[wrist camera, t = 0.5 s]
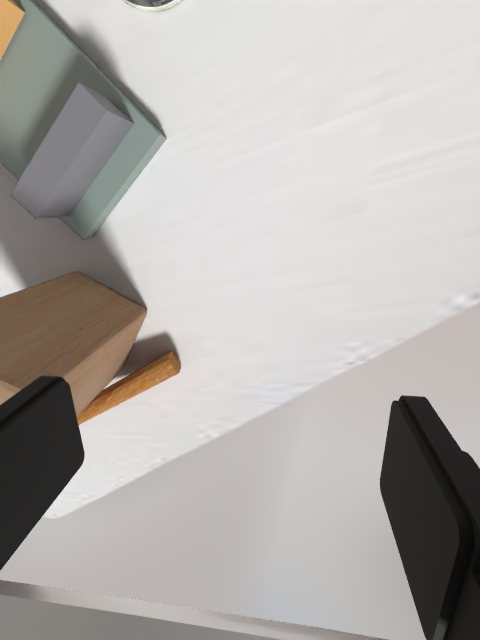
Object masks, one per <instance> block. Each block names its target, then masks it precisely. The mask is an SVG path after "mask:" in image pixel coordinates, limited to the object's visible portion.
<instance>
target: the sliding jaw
mask: <svg viewBox="0 0 480 640" xmlns="http://www.w3.org/2000/svg"><path fill="white" fill-rule="evenodd" d="M24 13H25V12H24V11H23V10H22V9H21V8H20V7H19V6H18V5H17V4H16V3H15V2H14V1H13V0H0V60H1V58H2V56H3V55H4V53H5V51H6V49H7V47H8V45H9V43H10V41H11V39H12V37H13V35H14V33H15V31H16V29H17V27H18V25H19V23H20V21H21V19H22V17H23V15H24Z"/></svg>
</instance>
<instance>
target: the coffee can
mask: <svg viewBox="0 0 480 640" xmlns="http://www.w3.org/2000/svg"><path fill="white" fill-rule="evenodd" d="M124 1H125V2H126V3H127V4H129V5H131V6H133V7H135V8H137V9H140V10H144V11H152V12H156V11H162V10H166V9H169V8H171V7H173V6H175V5H176V4H178V3H179V2H181V1H182V0H124Z"/></svg>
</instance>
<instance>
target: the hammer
mask: <svg viewBox="0 0 480 640" xmlns="http://www.w3.org/2000/svg"><path fill="white" fill-rule="evenodd" d="M180 369H181V364H180V362H179V361H178V359H177V358H176V356H175V354H174V353H173V351H171V352H169V353H167V354H166V355H164V356H162V357H160V358H158V359H157V360H155V361H153V362H151V363H150V364H148V365H146V366H144V367H143V368H141V369H139V370H137V371H136V372H134V373H132V374H130V375H129V376H127V377H125V378H123V379H121V380H120V381H118V382H116V383H114V384H113V385H111V386H109V387H107V388H106V389H104V390H102V391H101V392H100V393H99V394H98V395H97V396H96V397H95V398H94V399H93V400H92V401H91V402H90V403H89V404H88V405H87V406H86V407H85V408H84V409H83V410H82V411H81V412H80V413H79V414H78V415H77V421H78V425H79V424H81V423H83V422H85V421H87V420H89V419H91V418H93V417H95V416H97V415H99V414H101V413H103V412H105V411H107V410H108V409H110V408H112V407H114V406H116V405H118V404H120V403H122V402H124V401H126V400H128V399H130V398H132V397H134V396H136V395H138V394H139V393H141V392H143V391H145V390H147V389H149V388H151V387H153V386H155V385H157V384H159V383H161V382H163V381H165V380H167V379H168V378H170V377H172V376H174V375H176V374H178V373H179V372H180Z"/></svg>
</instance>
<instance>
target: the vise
mask: <svg viewBox="0 0 480 640" xmlns="http://www.w3.org/2000/svg"><path fill="white" fill-rule="evenodd" d="M13 1H14V2H15V3H16V4H17V5H18V6H19V7H20V8H21V9H22V10H23V11H24V12H25V13H24V15H23V17H22V19H21V21H20V23H19V25H18V27H17V29H16V31H15V33H14V35H13V37H12V39H11V41H10V43H9V45H8V47H7V49H6V51H5V53H4V55H3V56H2V58H1V60H0V163H1V164H2V165H3V166H5V167H6V168H7V169H8V170H9V171H10V172H11V173H12V174H13V175H14V176H15V177H16V178H17V179H19V181H18V183H17V184H16V186H15V188H14V189H13V191H12V193H11V194H10V195H11V196H12V197H13V198H14V199H15V200H16V201H17V202H18V203H19V204H20V205H21V206H23V207H24V208H25V209H26V210H27V211H28V212H29V213H30V214H31V215H32V216H33V217H35V218H48V217H59V218H60V219H61V220H63V221H64V222H65V223H66V224H67V225H68V226H69V227H70V228H71V229H72V230H73V231H74V232H75V233H77V234H78V235H79V236H80V237H81V238H82V239H85V238H90V237H93V235H94V234H95V233H96V231H97V230H98V229H99V227H100V226H101V225H102V223H103V222H104V221H105V219H106V218H107V217H108V215H109V214H110V213H111V211H112V210H113V209H114V207H115V206H116V205H117V204H118V202H119V201H120V200H121V198H122V197H123V196H124V194H125V193H126V192H127V190H128V189H129V188H130V186H131V185H132V184H133V182H134V181H135V180H136V178H137V177H138V176H139V174H140V173H141V172H142V170H143V169H144V168H145V166H146V165H147V164H148V162H149V161H150V160H151V159H152V157H153V156H154V155H155V153H156V152H157V151H158V149H159V148H160V147H161V145H162V144H163V143H164V141H165V140H166V139H167V138H166V137H165V136H164V135H163V134H162V133H161V132H160V131H159V130H158V129H157V128H156V127H155V126H154V125H153V124H152V123H151V122H150V120H149V119H148V118H147V117H146V116H145V115H144V114H143V113H142V112H141V111H140V110H139V109H138V108H137V107H136V106H135V105H134V104H133V103H132V102H131V101H130V100H129V99H128V98H127V97H126V96H125V95H124V94H123V93H122V92H121V91H120V90H119V88H118V87H117V86H116V85H115V84H114V83H113V82H112V81H111V80H110V79H109V78H108V77H107V76H106V75H105V74H104V73H103V72H102V71H101V70H100V69H99V68H98V67H97V66H96V65H95V64H94V63H93V62H92V61H91V60H90V59H89V58H88V57H87V55H86V54H85V53H84V52H83V51H82V50H81V49H80V48H79V47H78V46H77V45H76V44H75V43H74V42H73V41H72V40H71V39H70V38H69V37H68V36H67V35H66V34H65V33H64V32H63V31H62V30H61V29H60V28H59V27H58V26H57V25H56V23H55V22H54V21H53V20H52V19H51V18H50V17H49V16H48V15H47V14H46V13H45V12H44V11H43V10H42V9H41V8H40V7H39V6H38V5H37V4H36V3H35V2H34V1H33V0H13Z"/></svg>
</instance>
